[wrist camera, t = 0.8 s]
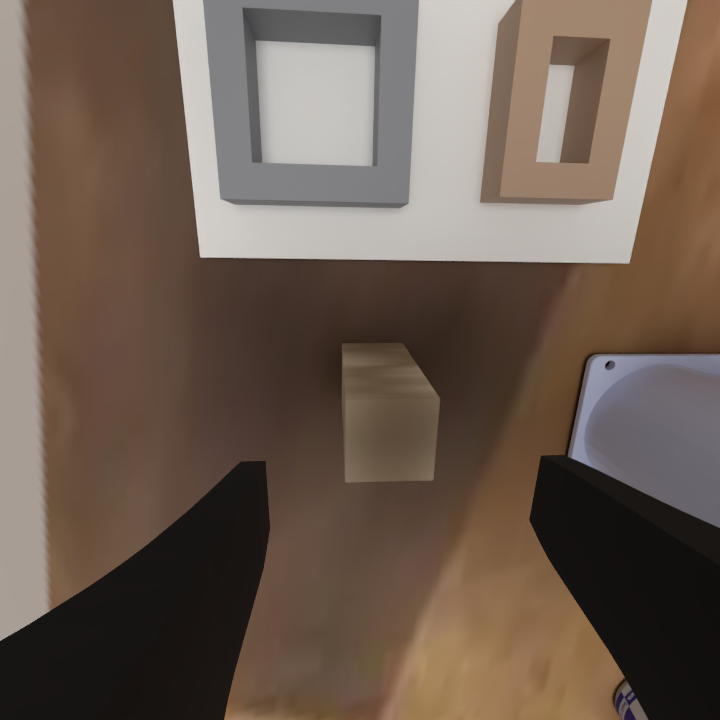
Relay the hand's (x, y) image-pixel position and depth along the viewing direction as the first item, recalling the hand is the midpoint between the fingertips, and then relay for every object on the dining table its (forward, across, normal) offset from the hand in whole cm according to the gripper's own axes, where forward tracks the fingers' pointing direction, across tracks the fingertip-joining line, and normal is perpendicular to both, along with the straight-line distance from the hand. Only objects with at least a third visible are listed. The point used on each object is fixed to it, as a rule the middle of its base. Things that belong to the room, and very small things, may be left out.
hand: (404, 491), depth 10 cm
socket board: (+10, -2, -11) cm, 15 cm away
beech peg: (+10, 0, 0) cm, 10 cm away
